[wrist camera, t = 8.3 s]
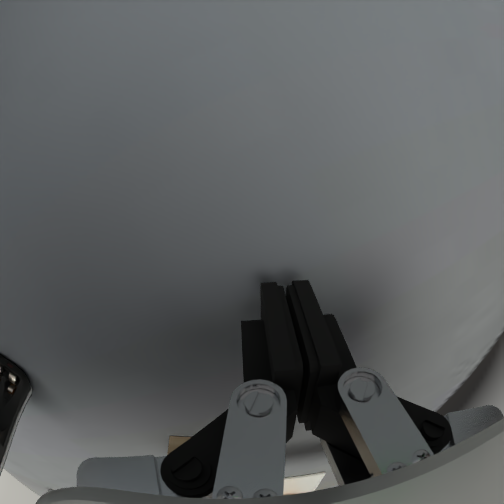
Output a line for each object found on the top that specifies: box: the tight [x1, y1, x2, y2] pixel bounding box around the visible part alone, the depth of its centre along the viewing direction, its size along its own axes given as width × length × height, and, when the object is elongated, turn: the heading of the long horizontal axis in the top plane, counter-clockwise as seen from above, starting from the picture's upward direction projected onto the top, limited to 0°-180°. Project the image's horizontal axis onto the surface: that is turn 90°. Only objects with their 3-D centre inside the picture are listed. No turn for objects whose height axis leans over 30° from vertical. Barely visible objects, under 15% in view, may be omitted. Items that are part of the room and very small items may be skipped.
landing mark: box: [283, 472, 326, 496], centre depth 25 cm, size 12×12×1 cm
